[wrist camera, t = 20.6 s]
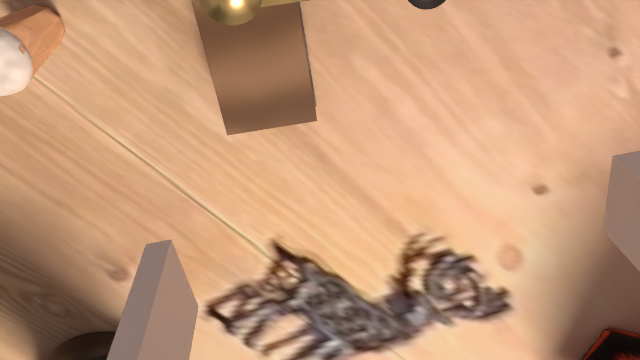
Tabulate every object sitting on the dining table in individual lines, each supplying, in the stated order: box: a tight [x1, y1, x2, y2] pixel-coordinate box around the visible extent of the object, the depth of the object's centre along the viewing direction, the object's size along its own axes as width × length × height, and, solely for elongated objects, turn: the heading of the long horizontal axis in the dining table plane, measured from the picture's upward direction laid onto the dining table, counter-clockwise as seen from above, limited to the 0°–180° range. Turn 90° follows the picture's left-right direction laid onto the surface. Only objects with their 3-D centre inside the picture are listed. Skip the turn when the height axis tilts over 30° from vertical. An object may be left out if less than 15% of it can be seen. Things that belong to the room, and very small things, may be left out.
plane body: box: [191, 0, 317, 135], centre depth 36 cm, size 17×7×10 cm, turn 8°
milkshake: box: [0, 5, 65, 96], centre depth 36 cm, size 4×5×10 cm
